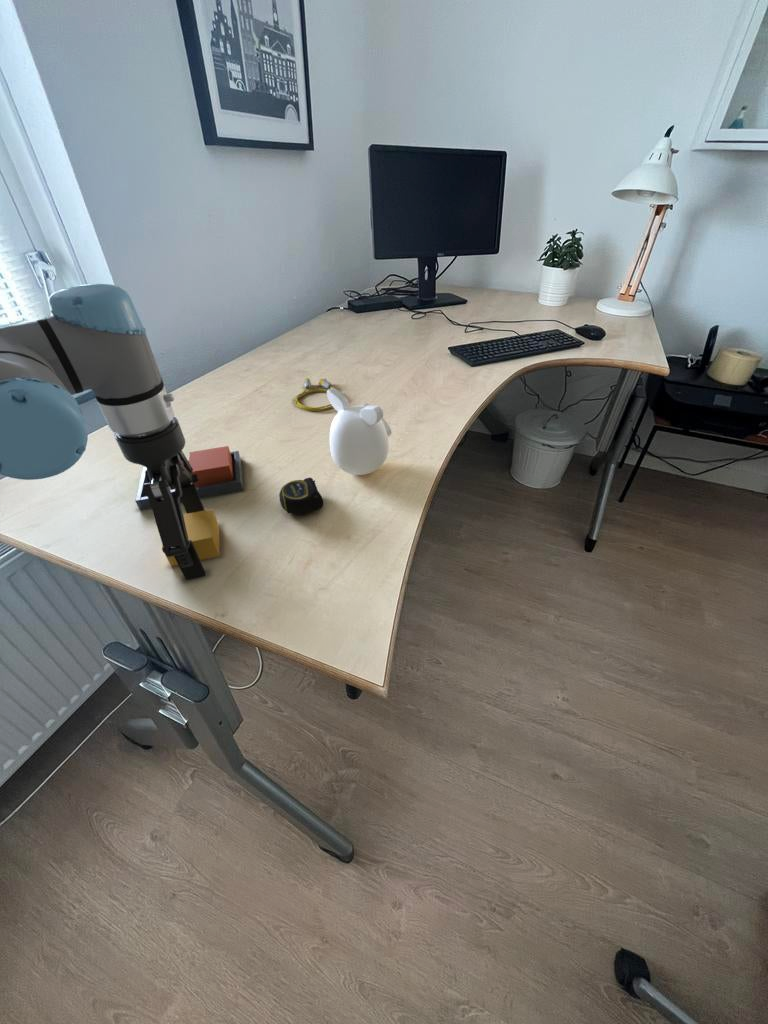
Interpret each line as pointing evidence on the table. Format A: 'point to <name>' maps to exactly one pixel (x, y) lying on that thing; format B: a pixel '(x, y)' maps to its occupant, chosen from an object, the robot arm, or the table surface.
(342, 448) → the white bunny figurine
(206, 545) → the pad mustard
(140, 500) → the tray
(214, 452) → the pad terracotta
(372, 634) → the table surface
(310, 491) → the tape measure
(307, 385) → the coiled yellow cable
